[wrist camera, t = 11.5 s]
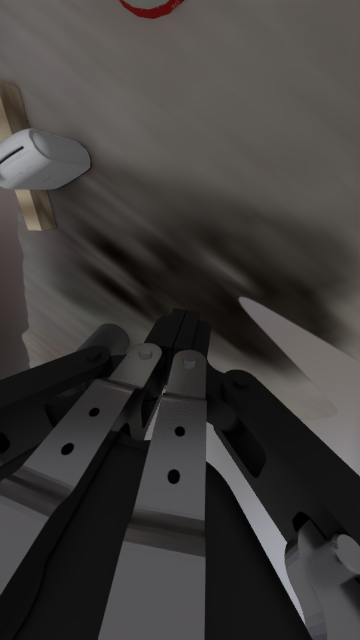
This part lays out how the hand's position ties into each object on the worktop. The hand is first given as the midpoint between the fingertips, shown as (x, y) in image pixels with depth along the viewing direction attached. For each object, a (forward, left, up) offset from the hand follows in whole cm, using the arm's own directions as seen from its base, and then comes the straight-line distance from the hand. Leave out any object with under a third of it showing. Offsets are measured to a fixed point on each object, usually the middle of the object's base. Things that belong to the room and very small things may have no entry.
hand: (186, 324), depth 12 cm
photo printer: (+9, +27, -30) cm, 42 cm away
